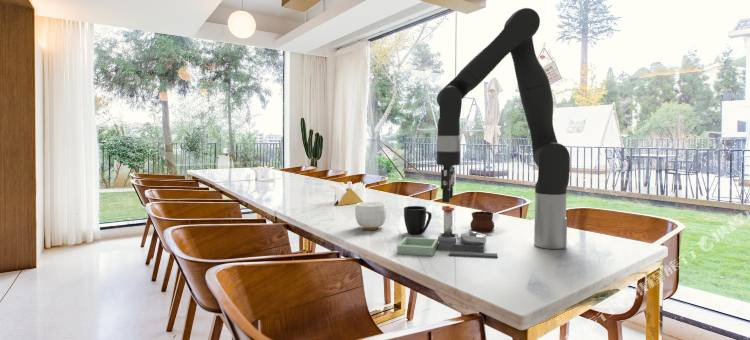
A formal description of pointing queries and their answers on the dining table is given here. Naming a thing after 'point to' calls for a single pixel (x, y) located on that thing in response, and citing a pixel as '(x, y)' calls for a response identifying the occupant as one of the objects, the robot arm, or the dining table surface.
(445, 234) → the lock pin
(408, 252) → the tray
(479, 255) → the strip
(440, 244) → the grey stepped block
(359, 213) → the cup
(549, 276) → the dining table surface
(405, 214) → the mug
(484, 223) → the ceramic pot
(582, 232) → the dining table surface
